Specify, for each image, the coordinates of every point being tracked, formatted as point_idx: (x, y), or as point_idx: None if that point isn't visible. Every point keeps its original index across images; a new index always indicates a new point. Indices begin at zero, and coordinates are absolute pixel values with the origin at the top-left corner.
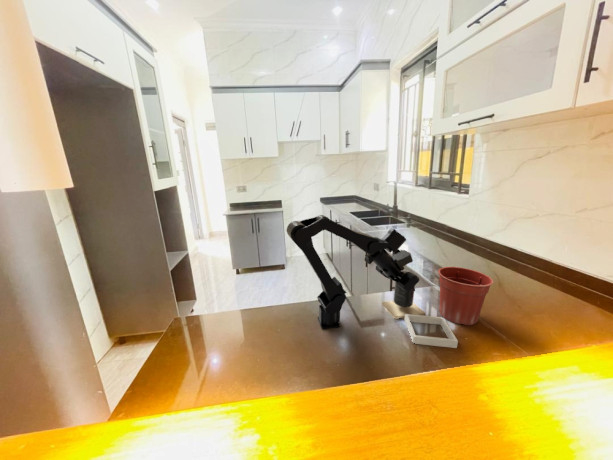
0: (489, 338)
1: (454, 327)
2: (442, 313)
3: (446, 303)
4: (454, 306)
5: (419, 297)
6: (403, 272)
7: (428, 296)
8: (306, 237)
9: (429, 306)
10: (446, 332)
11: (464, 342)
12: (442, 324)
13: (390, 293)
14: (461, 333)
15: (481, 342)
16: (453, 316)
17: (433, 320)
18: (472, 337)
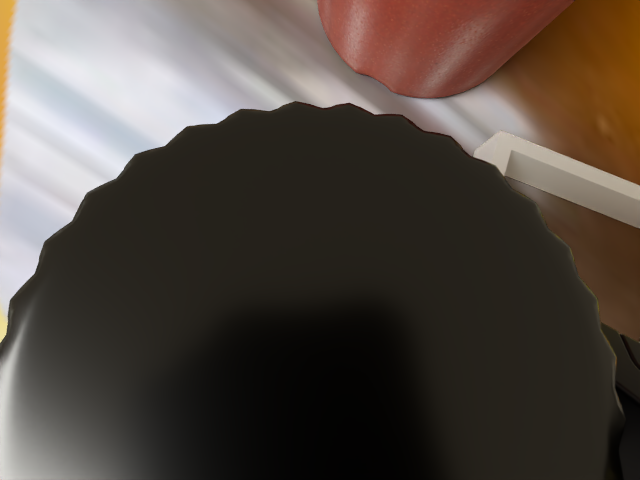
0: (609, 20)
1: (515, 111)
2: (421, 87)
3: (507, 23)
4: (567, 2)
5: (153, 75)
6: (161, 459)
7: (158, 6)
8: None
9: (285, 92)
10: (581, 198)
11: (632, 157)
12: (522, 170)
13: (17, 263)
14: (566, 116)
15: (634, 80)
16: (503, 61)
17: None
18: (598, 89)
